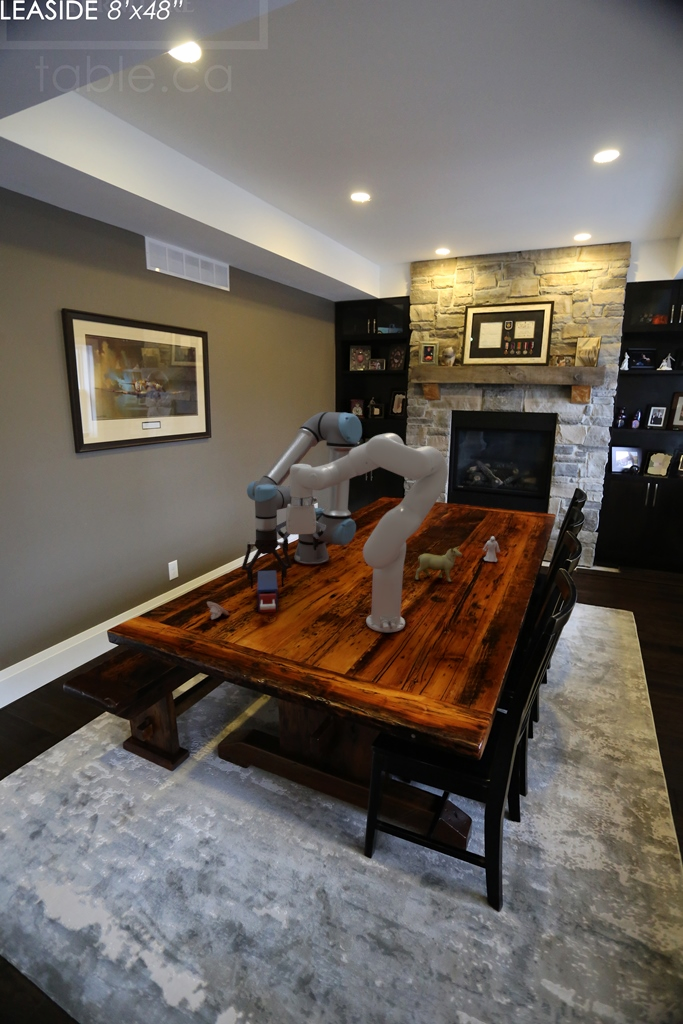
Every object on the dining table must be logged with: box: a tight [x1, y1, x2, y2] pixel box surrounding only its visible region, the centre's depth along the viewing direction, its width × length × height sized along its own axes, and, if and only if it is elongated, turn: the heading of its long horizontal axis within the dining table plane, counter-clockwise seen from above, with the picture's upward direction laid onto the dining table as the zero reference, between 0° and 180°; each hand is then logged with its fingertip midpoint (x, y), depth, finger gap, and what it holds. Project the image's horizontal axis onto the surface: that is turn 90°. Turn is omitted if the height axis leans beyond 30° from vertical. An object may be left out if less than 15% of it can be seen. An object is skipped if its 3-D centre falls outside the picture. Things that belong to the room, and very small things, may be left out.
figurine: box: [482, 535, 501, 563], centre depth 223 cm, size 8×8×12 cm
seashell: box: [206, 600, 230, 620], centre depth 164 cm, size 8×5×8 cm
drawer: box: [259, 592, 277, 613], centre depth 172 cm, size 22×6×6 cm, turn 9°
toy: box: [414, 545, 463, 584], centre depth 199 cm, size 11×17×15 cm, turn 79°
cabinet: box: [256, 570, 279, 613], centre depth 178 cm, size 18×7×8 cm, turn 9°
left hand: (267, 586), depth 183 cm, fingers open, 10 cm apart
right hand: (300, 549), depth 172 cm, fingers open, 9 cm apart
